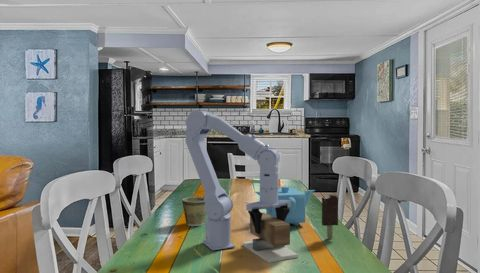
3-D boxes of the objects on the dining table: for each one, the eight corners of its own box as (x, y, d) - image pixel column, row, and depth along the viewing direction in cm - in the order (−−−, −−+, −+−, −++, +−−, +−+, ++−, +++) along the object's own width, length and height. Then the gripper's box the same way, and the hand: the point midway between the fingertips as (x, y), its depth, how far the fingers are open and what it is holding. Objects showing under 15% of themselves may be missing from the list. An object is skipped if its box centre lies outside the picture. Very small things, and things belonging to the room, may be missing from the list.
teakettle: (295, 232, 135) (295, 192, 134) (252, 224, 146) (252, 187, 145) (316, 221, 150) (316, 185, 150) (275, 215, 161) (276, 181, 161)
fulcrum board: (242, 245, 120) (242, 233, 120) (269, 241, 124) (269, 229, 124) (268, 262, 105) (268, 248, 105) (297, 257, 109) (298, 243, 109)
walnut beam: (250, 232, 121) (250, 214, 121) (263, 230, 123) (263, 212, 123) (275, 247, 106) (275, 226, 106) (289, 244, 108) (289, 224, 108)
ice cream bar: (323, 239, 126) (323, 195, 126) (321, 238, 128) (321, 194, 127) (338, 239, 126) (338, 195, 126) (336, 237, 128) (336, 194, 128)
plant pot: (201, 229, 139) (200, 202, 139) (177, 226, 142) (177, 200, 142) (215, 221, 151) (215, 196, 151) (193, 218, 155) (193, 195, 154)
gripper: (253, 191, 107) (253, 238, 108) (296, 188, 114) (295, 232, 114) (243, 188, 114) (243, 232, 114) (283, 184, 120) (283, 226, 120)
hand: (268, 231), depth 114 cm, fingers open, 7 cm apart
